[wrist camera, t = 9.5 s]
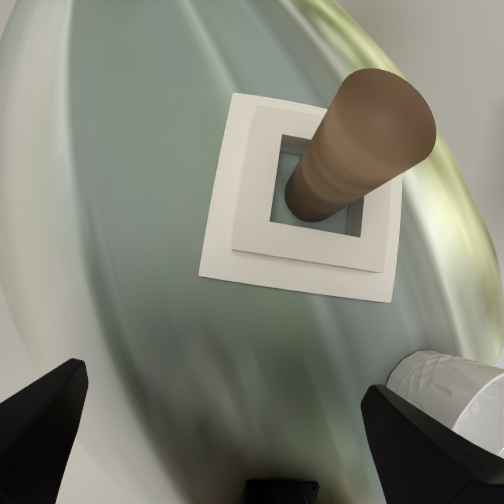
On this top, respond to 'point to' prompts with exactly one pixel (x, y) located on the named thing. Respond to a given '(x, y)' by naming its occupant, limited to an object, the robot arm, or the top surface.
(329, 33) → the top surface
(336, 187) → the dowel
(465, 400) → the white cup
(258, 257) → the socket
